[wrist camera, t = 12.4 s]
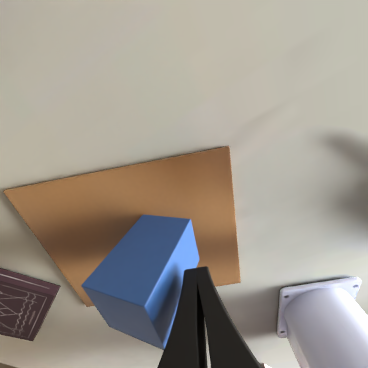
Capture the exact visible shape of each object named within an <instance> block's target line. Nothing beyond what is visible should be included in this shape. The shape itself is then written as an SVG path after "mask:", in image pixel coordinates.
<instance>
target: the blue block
mask: <svg viewBox="0 0 368 368" xmlns="http://www.w3.org/2000/svg"><path fill="white" fill-rule="evenodd" d="M198 262H199V255H198V250H197V245H196V241H195V236H194V232H193V227H192V222H191V219H186V218H176V217H165V216H154V215H144V214H143V215H142V216H141V217H140V218H139V220H138V221H137V222H136V223H135V224H134V225H133V226H132V228H131V229H130V230H129V231H128V232H127V233H126V234H125V236H124V237H123V238H122V239H121V240H120V241H119V243H118V244H117V245H116V246H115V247H114V248H113V249H112V251H111V252H110V253H109V254H108V255H107V256H106V257H105V259H104V260H103V261H102V262H101V263H100V264H99V265H98V267H97V268H96V269H95V270H94V271H93V272H92V273H91V275H90V276H89V277H88V278H87V279H86V280H85V282H84V283H83V284H82V285H81V286H82V288H83V289H84V291H85V292H86V294H87V295H88V297H89V298H90V299H91V301H92V302H93V304H94V305H95V307H96V308H97V310H98V311H99V312H100V314H101V315H102V317H103V318H104V320H105V321H106V323H107V324H108V326H109V327H111V328H114V329H116V330H118V331H121V332H123V333H125V334H127V335H130V336H132V337H134V338H137V339H139V340H141V341H144V342H146V343H148V344H151V345H153V346H155V347H158V348H160V349H162V350H164V349H165V346H166V344H167V341H168V338H169V335H170V331H171V328H172V325H173V321H174V318H175V315H176V311H177V307H178V303H179V299H180V294H181V289H182V284H183V276H184V271H185V270H186V269H192V268H196V267H197V265H198Z"/></svg>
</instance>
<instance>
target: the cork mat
mask: <svg viewBox="0 0 368 368" xmlns="http://www.w3.org/2000/svg"><path fill="white" fill-rule="evenodd" d="M3 192H4V193H5V195H6V196H7V197H8V199H9V200H10V202H11V203H12V204H13V206H14V207H15V209H16V210H17V211H18V213H19V214H20V215H21V217H22V218H23V220H24V221H25V222H26V224H27V225H28V226H29V228H30V229H31V231H32V232H33V233H34V235H35V236H36V237H37V239H38V240H39V242H40V243H41V244H42V246H43V247H44V248H45V250H46V251H47V253H48V254H49V255H50V257H51V258H52V260H53V261H54V262H55V264H56V265H57V266H58V268H59V269H60V271H61V272H62V273H63V275H64V276H65V277H66V279H67V280H68V282H69V283H70V284H71V286H72V287H73V288H74V290H75V291H76V293H77V294H78V295H79V297H80V298H81V300H82V301H83V302H84V304H85V305H86V306H87V307H90V306H95V305H94V304H93V302H92V301H91V299H90V298H89V297H88V295H87V294H86V292H85V291H84V289H83V288H82V286H81V285H82V284H83V283H84V282H85V280H86V279H87V278H88V277H89V276H90V275H91V273H92V272H93V271H94V270H95V269H96V268H97V267H98V265H99V264H100V263H101V262H102V261H103V260H104V259H105V257H106V256H107V255H108V254H109V253H110V252H111V251H112V249H113V248H114V247H115V246H116V245H117V244H118V243H119V241H120V240H121V239H122V238H123V237H124V236H125V234H126V233H127V232H128V231H129V230H130V229H131V228H132V226H133V225H134V224H135V223H136V222H137V221H138V220H139V218H140V217H141V216H142V215H143V214H144V215H154V216H165V217H176V218H186V219H191V222H192V227H193V232H194V236H195V241H196V245H197V250H198V255H199V262H198V265H197V267H196V268H198V267H204V266H207V267H209V271H210V275H211V278H212V280H213V283H214V285H215V287H216V286H222V285H228V284H235V283H240V269H239V257H238V245H237V232H236V220H235V208H234V195H233V183H232V170H231V158H230V147H229V146H225V147H220V148H215V149H210V150H205V151H200V152H195V153H190V154H184V155H179V156H174V157H169V158H164V159H159V160H154V161H149V162H144V163H139V164H133V165H128V166H123V167H118V168H113V169H108V170H103V171H98V172H93V173H88V174H82V175H77V176H72V177H67V178H62V179H57V180H52V181H47V182H42V183H37V184H31V185H26V186H21V187H16V188H11V189H6V190H4V191H3Z"/></svg>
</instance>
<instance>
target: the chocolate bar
mask: <svg viewBox="0 0 368 368" xmlns="http://www.w3.org/2000/svg"><path fill="white" fill-rule="evenodd" d="M59 288H60V286H58V285H55V284H52V283H48V282H45V281H42V280H38V279H35V278H31V277H28V276H25V275H21V274H18V273H15V272H11V271H8V270H5V269H1V268H0V334H1V335H5V336H10V337H15V338H20V339H24V340H29V341H33V340H34V338H35V337H36V335H37V333H38V331H39V329H40V327H41V325H42V323H43V321H44V319H45V317H46V315H47V313H48V311H49V309H50V307H51V305H52V302H53V300H54V298H55V296H56V294H57V292H58V290H59Z"/></svg>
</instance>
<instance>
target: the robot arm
mask: <svg viewBox="0 0 368 368" xmlns="http://www.w3.org/2000/svg"><path fill="white" fill-rule="evenodd" d="M360 284H361V280H360V279H359V278H358V277H350V278H343V279H337V280H331V281H324V282H318V283H311V284H305V285H298V286H292V287H285V288H282V289H281V290H280V297H279V312H278V326H277V335H278V337H279V338H286V337H287V339H288V341H289V343H290V345H291V347H292V350H293V352H294V354H295V356H296V359H297V361H298V363H299V365H300V367H301V368H368V316H367V315H366V313H365V312H364V311H363V310H362V309H361V307H360V306H359V305H358V304H357V303H356V302H355V298H356V295H357V293H358V290H359V287H360ZM204 318H205V320H204ZM205 323H206V329H207V335H208V344H209V353H210V361H211V368H262V367H261V365H260V364H259V362H258V361H257V360H256V358H255V357H254V355H253V353H252V352H251V350H250V349H249V347H248V346H247V344H246V343H245V341H244V339H243V338H242V336H241V335H240V333H239V331H238V330H237V328H236V326H235V325H234V323H233V321H232V319H231V318H230V316H229V314H228V312H227V310H226V308H225V306H224V304H223V302H222V300H221V298H220V296H219V294H218V292H217V290H216V288H215V285H214V283H213V280H212V278H211V275H210V271H209V267H207V266H204V267H198V268H192V269H186V270H185V271H184V276H183V284H182V289H181V294H180V299H179V303H178V307H177V311H176V315H175V318H174V321H173V325H172V328H171V331H170V335H169V338H168V341H167V344H166V346H165V349H164V352H163V355H162V357H161V360H160V363H159V365H158V368H208V367H207V354H206V337H205Z"/></svg>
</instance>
